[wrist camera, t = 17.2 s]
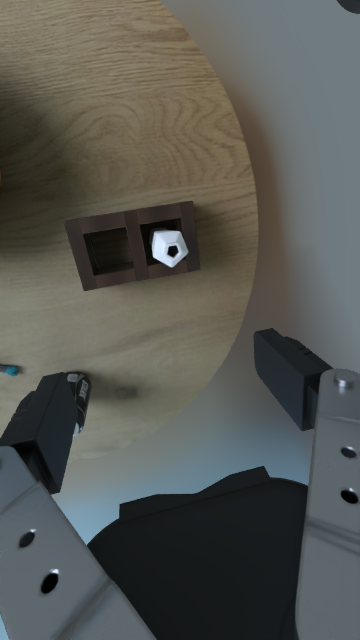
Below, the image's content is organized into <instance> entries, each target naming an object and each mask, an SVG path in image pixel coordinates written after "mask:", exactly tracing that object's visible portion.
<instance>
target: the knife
mask: <svg viewBox="0 0 360 640" xmlns="http://www.w3.org/2000/svg"><path fill="white" fill-rule="evenodd" d="M16 371H17V367H16V366H4V365H0V372H3V373H7V374H10V375H11V376H17V374H18V373H17V372H16Z"/></svg>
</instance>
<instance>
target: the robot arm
mask: <svg viewBox="0 0 360 640" xmlns="http://www.w3.org/2000/svg"><path fill="white" fill-rule="evenodd" d="M254 359H255V368H256V371H257V374H258V376H259V377H260V379H261V380H262V381H263V382H264V384H265V385H266V386H267V387H268V389H269V390H270V391H271V393H272V394H273V395H274V397H275V398H276V399H277V400H278V402H279V403H280V404H281V405H282V407H283V408H284V409H285V411H286V412H287V413H288V414H289V416H290V417H291V418H292V419H293V421H294V422H295V423H296V425H297V426H298V427H299V429H300V430H301V431H305V430H309V429H313V428H314V438H313V447H312V457H311V467H310V476H309V486H307V485H305V484H302V483H299V482H296V481H293V480H288V479H284V478H272V477H269V475H268V473H267V471H266V469H265V467H264V466H261V467H257V468H254V469H250V470H246V471H242V472H239V473H235V474H231V475H229V476H227V477H225V478H223V479H222V480H220V481H218V482H216V483H215V484H213V485H211V486H209V487H207V488H206V489H204V490H202V491H200V492H198V493H195V494H156V495H152V496H148V497H145V498H141V499H137V500H134V501H130V502H126V503H122V504H120V510H119V519H117V520H115V521H114V522H112V523H111V524H109V525H108V526H106V527H105V528H104V529H103V530H102V531H100V532H99V533H98V534H97V535H96V536H95V537H94V538H93V539H92V540H91V541H90V542H89V543H88V544H87V546H86V544H85V543H84V541H83V540H82V539H81V537H80V536H79V534H78V533H77V532H76V530H75V529H74V527H73V526H72V525H71V523H70V522H69V520H68V519H67V518H66V516H65V515H64V513H63V512H62V511H61V509H60V508H59V507H58V505H57V504H56V502H55V501H54V499H53V498H52V497H51V495H52V494H55V493H59V492H60V490H61V486H62V481H63V477H64V473H65V469H66V465H67V460H68V456H69V452H70V448H71V444H72V439H73V435H74V431H75V427H76V422H77V418H78V409H77V404H76V401H75V398H74V395H73V393H72V390H71V387H70V384H69V382H68V379H67V376H66V374H65V373H64V372H61V373H56V374H52V375H47V376H43V377H42V379H41V381H40V383H39V385H38V387H37V389H36V391H31V392H30V393H29V394H28V395H27V396H26V397H25V398H24V399H23V400H22V401H21V402H20V404H19V406H18V407H17V409H16V413H14V415H13V417H12V418H11V421H10V422H9V424H8V426H7V428H6V429H5V431H4V433H3V435H2V437H1V438H0V614H1V617H2V620H3V623H4V626H5V629H6V632H7V635H8V638H9V640H360V374H359V373H357V372H354V371H351V370H346V369H333V368H332V367H331V366H330V365H328V364H327V363H326V362H325V361H323V360H322V359H321V358H319V357H318V356H317V355H316V354H314V353H312V351H310V350H309V349H308V348H306V347H305V346H304V345H303V344H301V343H300V342H299V341H297V340H295V339H292V338H289V337H282V335H280V334H279V333H278V332H277V331H275V330H274V329H273V328H270V329H266V330H261V331H256V332H255V333H254Z"/></svg>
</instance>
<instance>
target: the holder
mask: <svg viewBox="0 0 360 640" xmlns="http://www.w3.org/2000/svg"><path fill="white" fill-rule="evenodd" d="M171 219H175V223H176V230H177V231H180V232H181V234H182V237H183V239H184V242H185V244H186V247H187V249H188V254H187V255H186V256H184V257H183V258H182V259H181V260H180V261H179V262H178V263H177V264H176V265H175V266H174V267H170V266H168V265H166V264H164V263H163V262H161V261H159V260H157V259H155V258H151V259H146V255H145V250H144V245H143V240H142V234H141V229H140V224H146V223H152V222H159V221H165V220H171ZM64 224H65V228H66V231H67V234H68V238H69V241H70V245H71V248H72V252H73V255H74V258H75V262H76V265H77V269H78V272H79V276H80V279H81V283H82V286H83V289H84V291H88V290H94V289H97V288H98V289H99V288H104V287H110V286H115V285H120V284H126V283H131V282H137V281H142V280H147V279H153V278H159V277H164V276H169V275H175V274H180V273H186V272H191V271H196V270H200V261H199V252H198V243H197V235H196V226H195V217H194V209H193V201H186V202H179V203H173V204H167V205H160V206H154V207H148V208H141V209H136V210H128V211H122V212H116V213H109V214H103V215H97V216H90V217H84V218H78V219H72V220H67V221H64ZM125 226H126V231H127V236H128V240H129V245H130V250H131V255H132V260H133V262H129V263H123V264H118V265H112V266H106V267H101V268H98V267H97V263H96V259H95V255H94V251H93V247H92V244H91V240H90V236H89V233H91V232H97V231H104V230H110V229H116V228H122V227H125Z"/></svg>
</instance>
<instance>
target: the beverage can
mask: <svg viewBox="0 0 360 640" xmlns="http://www.w3.org/2000/svg"><path fill="white" fill-rule="evenodd" d="M65 374H66V376H67V379H68V382H69V384H70V387H71V390H72V393H73V395H74V398H75V401H76V404H77V409H78V418H77V422H76V427H75V431H74V435H73V439H74V438H75V437H76V436H77V434H78V433H80V431H81V430H82V429H83V426H84V423H85V419H86V414H87V409H88V404H89V399H90V393H91V383H90V381H89V379H88V378H87V377H86V376H84V375H83V374H81V373H78V372H67V373H65ZM73 439H72V440H73Z"/></svg>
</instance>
